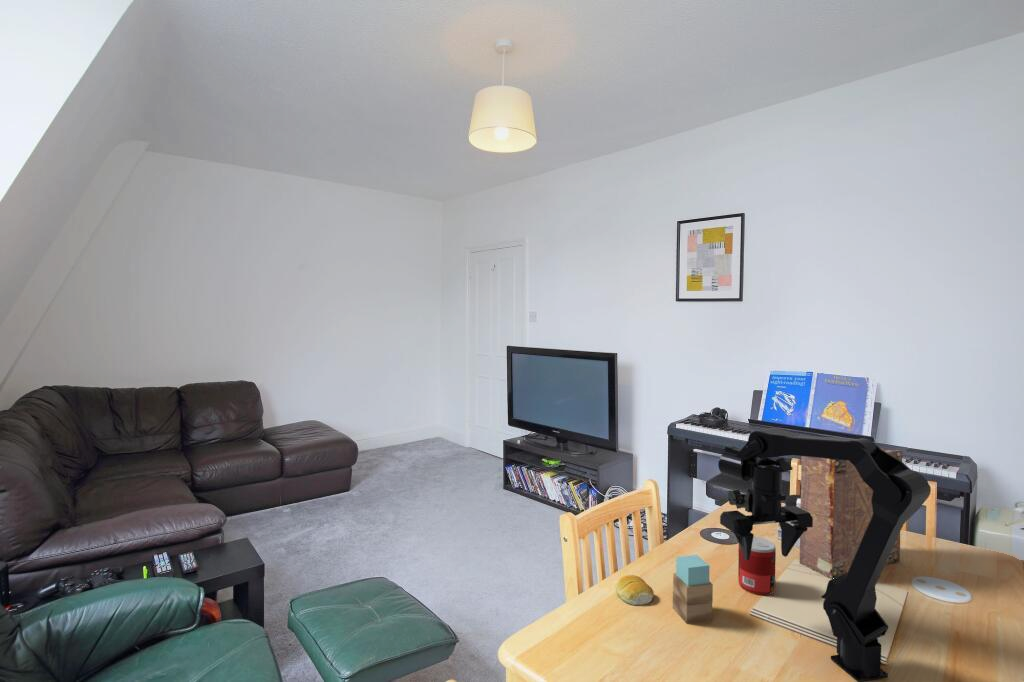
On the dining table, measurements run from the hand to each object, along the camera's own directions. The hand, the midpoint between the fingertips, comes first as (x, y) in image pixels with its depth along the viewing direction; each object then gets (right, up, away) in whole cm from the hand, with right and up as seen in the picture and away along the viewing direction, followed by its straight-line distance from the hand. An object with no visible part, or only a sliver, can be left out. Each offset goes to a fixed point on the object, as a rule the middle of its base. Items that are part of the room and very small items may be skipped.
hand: (765, 557), depth 111 cm
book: (+34, -12, +24) cm, 44 cm away
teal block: (-15, -5, +1) cm, 16 cm away
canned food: (+4, -13, +13) cm, 18 cm away
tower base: (-15, -13, +2) cm, 20 cm away
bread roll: (-26, -13, +10) cm, 31 cm away
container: (+28, -11, +37) cm, 48 cm away
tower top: (-15, -9, +2) cm, 18 cm away
